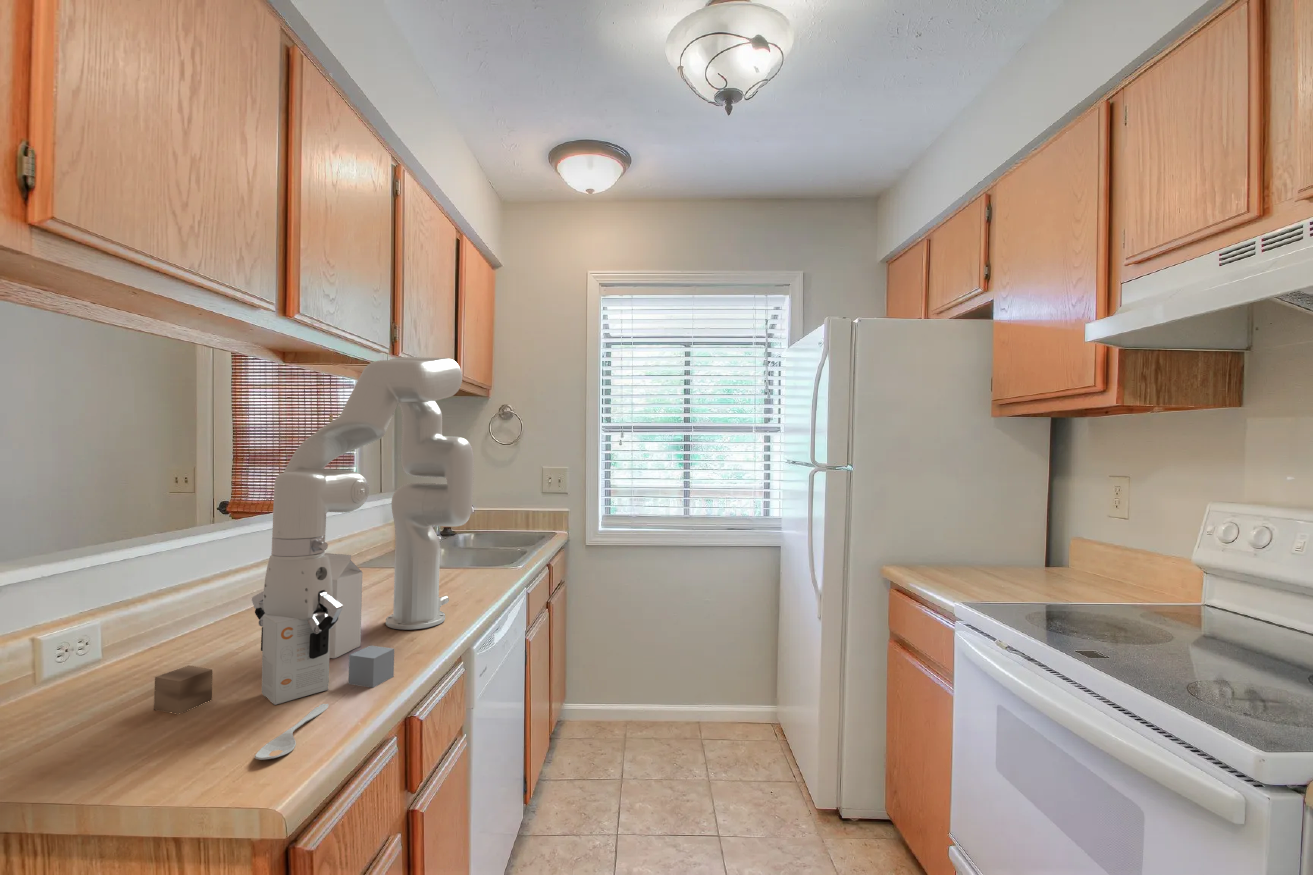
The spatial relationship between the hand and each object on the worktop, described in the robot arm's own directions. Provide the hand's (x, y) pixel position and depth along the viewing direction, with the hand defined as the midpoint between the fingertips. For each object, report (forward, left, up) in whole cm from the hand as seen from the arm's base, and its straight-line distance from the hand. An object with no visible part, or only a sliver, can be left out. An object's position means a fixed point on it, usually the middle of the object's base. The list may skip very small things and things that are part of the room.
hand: (294, 652), depth 97 cm
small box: (0, 0, -7) cm, 7 cm away
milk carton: (-17, -9, -7) cm, 21 cm away
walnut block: (+9, -12, -7) cm, 16 cm away
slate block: (-8, +8, -7) cm, 13 cm away
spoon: (+9, +11, -7) cm, 16 cm away
